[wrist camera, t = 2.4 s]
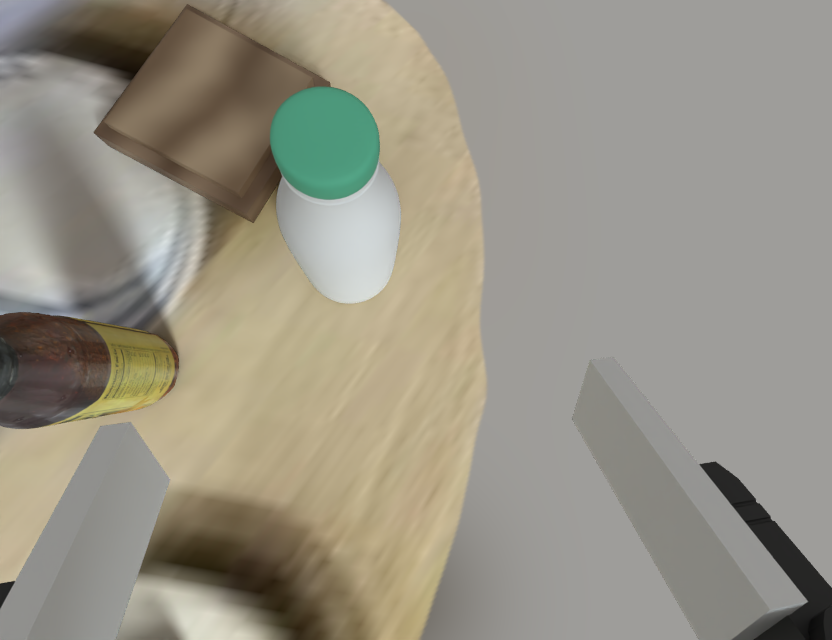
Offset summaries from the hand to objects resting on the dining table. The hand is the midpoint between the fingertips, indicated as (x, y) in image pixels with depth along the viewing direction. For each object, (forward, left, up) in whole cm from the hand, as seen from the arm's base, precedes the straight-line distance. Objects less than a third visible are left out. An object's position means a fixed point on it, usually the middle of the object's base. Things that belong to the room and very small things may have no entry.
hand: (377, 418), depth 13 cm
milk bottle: (-7, +9, -24) cm, 26 cm away
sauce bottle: (-17, -7, -24) cm, 30 cm away
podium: (-23, +15, -23) cm, 36 cm away
